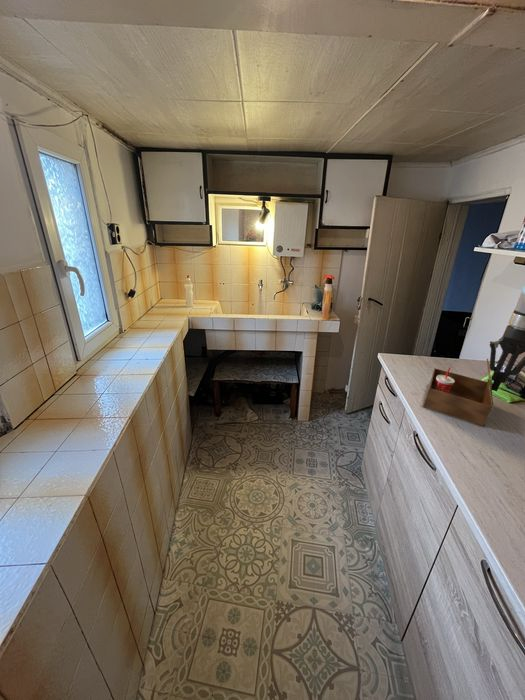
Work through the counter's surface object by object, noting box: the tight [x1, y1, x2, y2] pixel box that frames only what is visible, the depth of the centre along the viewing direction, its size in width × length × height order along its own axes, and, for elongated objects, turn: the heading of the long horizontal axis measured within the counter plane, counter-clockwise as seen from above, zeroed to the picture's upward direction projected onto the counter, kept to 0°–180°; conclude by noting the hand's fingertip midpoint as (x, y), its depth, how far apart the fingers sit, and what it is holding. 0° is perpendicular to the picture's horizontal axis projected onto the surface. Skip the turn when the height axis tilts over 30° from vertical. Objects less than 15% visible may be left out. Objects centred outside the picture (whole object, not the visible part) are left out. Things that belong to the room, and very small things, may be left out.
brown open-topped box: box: [422, 367, 493, 427], centre depth 108 cm, size 19×20×8 cm
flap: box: [486, 358, 494, 406], centre depth 101 cm, size 9×20×1 cm
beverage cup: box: [434, 366, 455, 393], centre depth 110 cm, size 6×6×14 cm
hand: (494, 388), depth 101 cm, fingers closed
